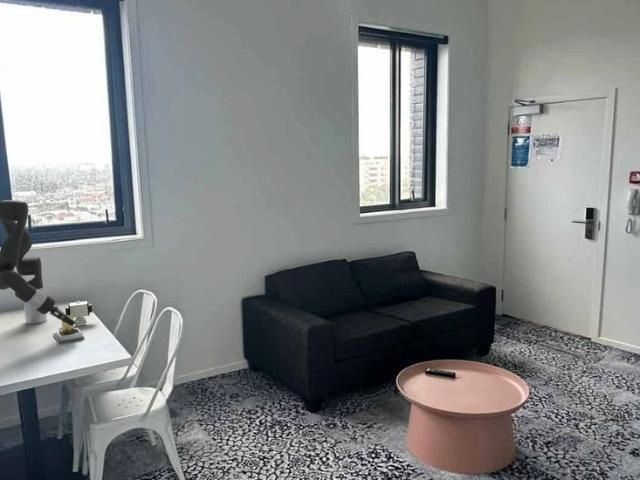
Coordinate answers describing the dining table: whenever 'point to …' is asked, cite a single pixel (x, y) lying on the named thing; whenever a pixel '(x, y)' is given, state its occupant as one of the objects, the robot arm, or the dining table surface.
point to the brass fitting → (67, 327)
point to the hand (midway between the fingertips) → (71, 321)
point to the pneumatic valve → (79, 312)
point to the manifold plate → (68, 336)
